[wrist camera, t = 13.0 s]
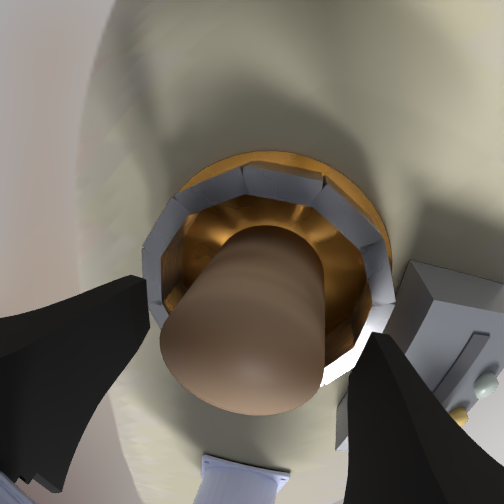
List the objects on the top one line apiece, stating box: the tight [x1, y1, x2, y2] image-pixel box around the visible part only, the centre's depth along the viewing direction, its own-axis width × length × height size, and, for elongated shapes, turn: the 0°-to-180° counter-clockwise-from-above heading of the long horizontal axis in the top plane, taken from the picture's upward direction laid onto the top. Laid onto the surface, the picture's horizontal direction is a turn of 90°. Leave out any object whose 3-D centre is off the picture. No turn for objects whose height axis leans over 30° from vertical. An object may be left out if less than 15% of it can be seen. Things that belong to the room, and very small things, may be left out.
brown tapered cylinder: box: [160, 225, 325, 415], centre depth 9 cm, size 4×4×5 cm
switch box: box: [335, 260, 504, 452], centre depth 10 cm, size 10×6×4 cm, turn 172°
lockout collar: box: [142, 151, 396, 386], centre depth 11 cm, size 10×10×2 cm
